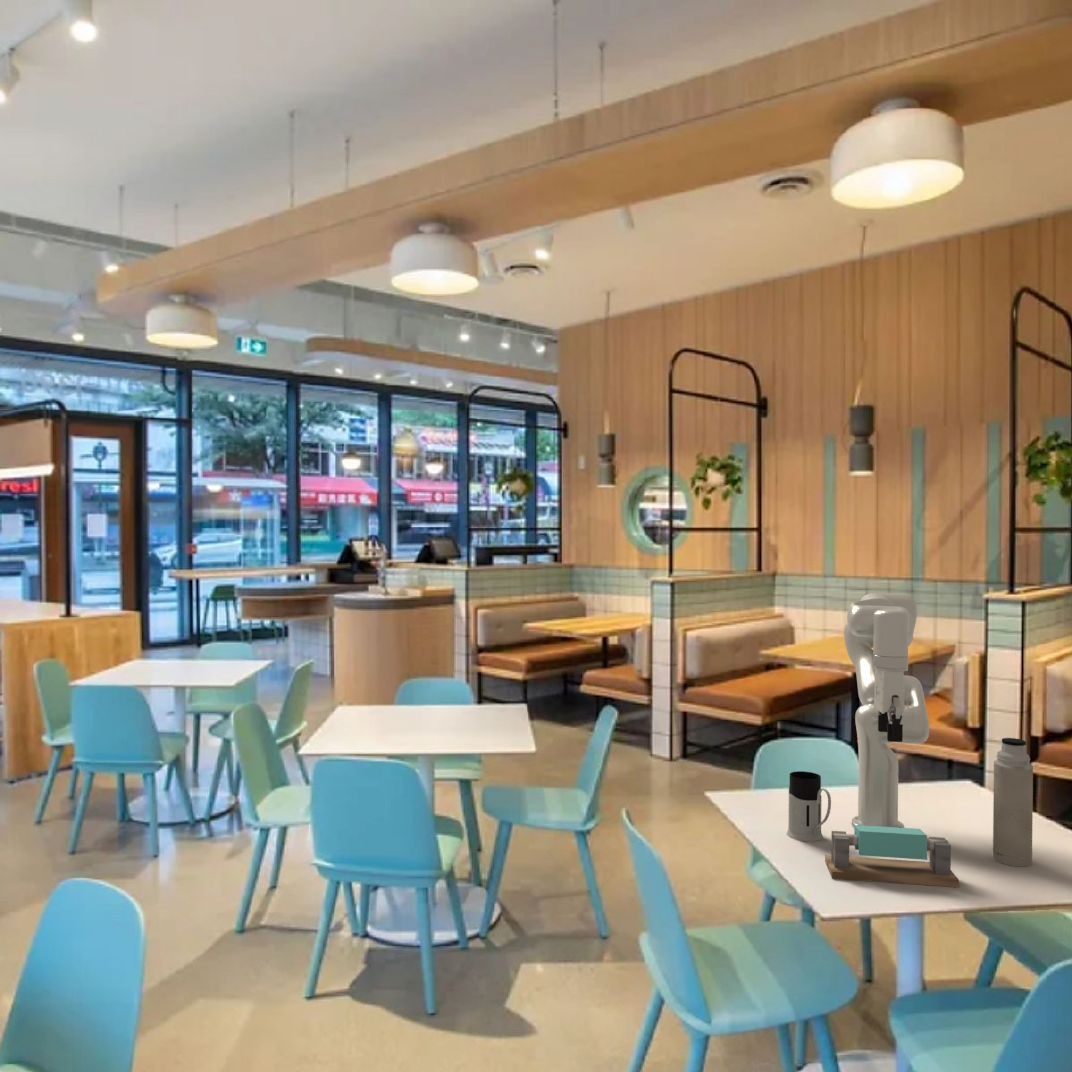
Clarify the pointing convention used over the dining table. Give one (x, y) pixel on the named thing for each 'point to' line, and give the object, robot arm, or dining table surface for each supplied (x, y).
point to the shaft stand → (891, 864)
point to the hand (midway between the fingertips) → (889, 736)
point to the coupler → (891, 842)
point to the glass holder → (806, 806)
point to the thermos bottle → (1013, 804)
